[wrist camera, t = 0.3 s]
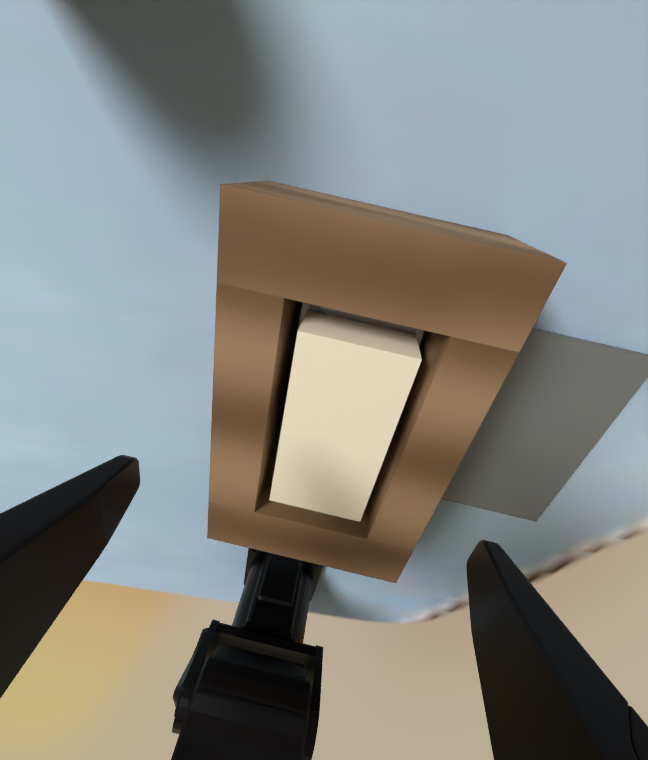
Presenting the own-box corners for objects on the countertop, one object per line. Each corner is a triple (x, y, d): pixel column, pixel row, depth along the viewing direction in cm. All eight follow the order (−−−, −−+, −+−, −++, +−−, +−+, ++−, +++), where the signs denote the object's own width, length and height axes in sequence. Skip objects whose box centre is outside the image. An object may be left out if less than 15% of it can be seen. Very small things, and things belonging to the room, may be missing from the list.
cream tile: (361, 486, 21) (360, 521, 19) (280, 467, 21) (269, 500, 19) (415, 334, 16) (421, 359, 14) (308, 310, 16) (297, 330, 14)
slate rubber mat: (533, 515, 25) (535, 521, 25) (423, 489, 26) (424, 494, 25) (654, 356, 19) (660, 360, 18) (505, 321, 19) (508, 324, 18)
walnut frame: (392, 502, 27) (395, 583, 21) (240, 466, 27) (207, 537, 21) (507, 235, 17) (567, 263, 12) (268, 180, 17) (220, 184, 12)
